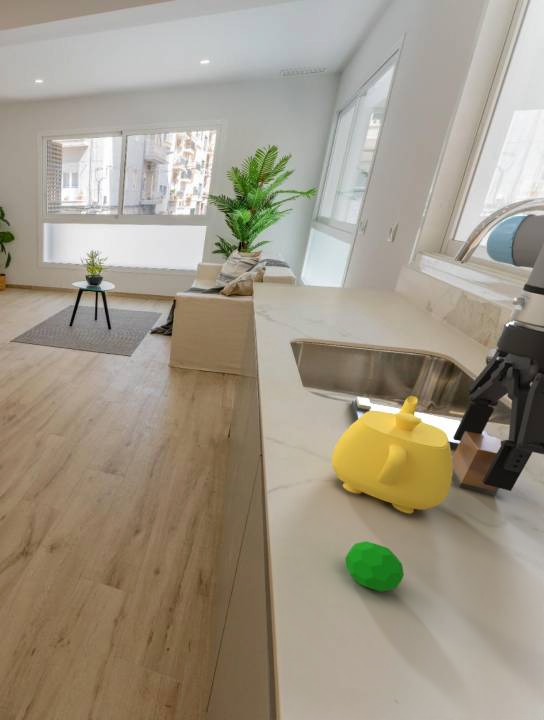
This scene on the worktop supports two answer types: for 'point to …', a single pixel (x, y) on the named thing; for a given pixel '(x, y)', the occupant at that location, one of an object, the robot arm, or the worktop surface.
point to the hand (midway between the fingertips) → (479, 461)
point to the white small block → (428, 421)
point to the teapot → (395, 459)
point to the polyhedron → (374, 566)
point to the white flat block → (363, 403)
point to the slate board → (442, 423)
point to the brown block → (475, 461)
